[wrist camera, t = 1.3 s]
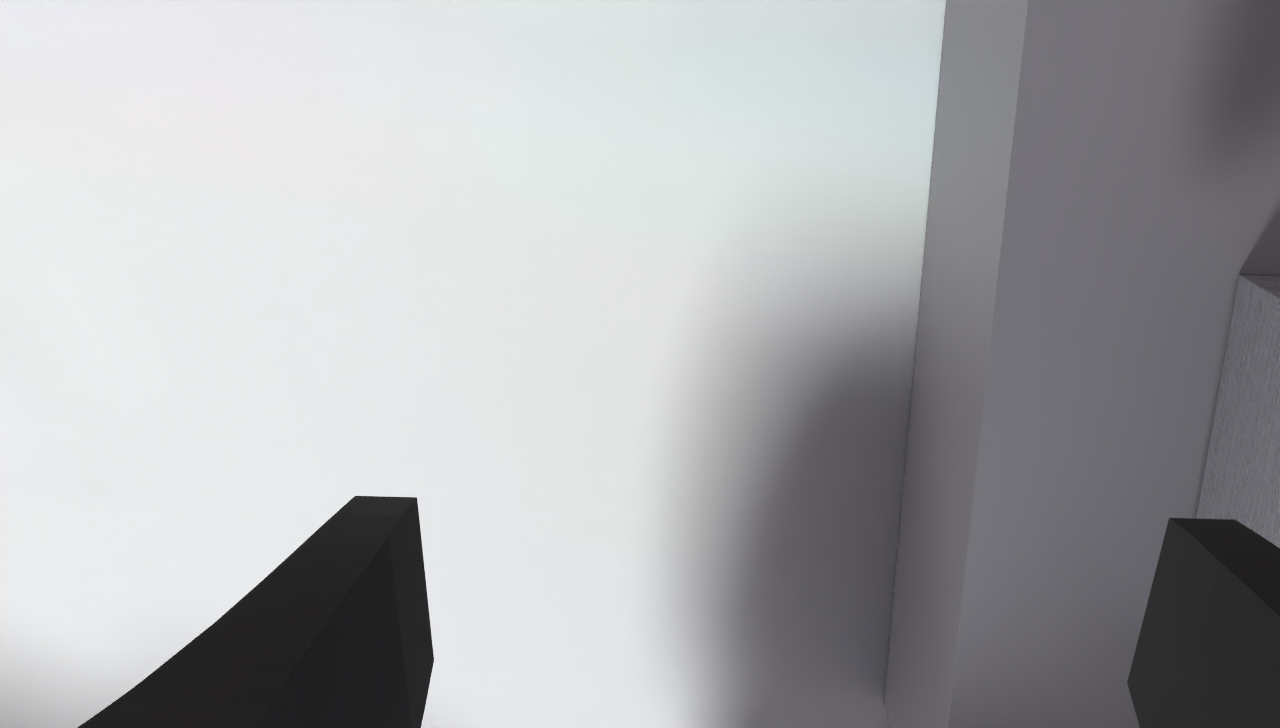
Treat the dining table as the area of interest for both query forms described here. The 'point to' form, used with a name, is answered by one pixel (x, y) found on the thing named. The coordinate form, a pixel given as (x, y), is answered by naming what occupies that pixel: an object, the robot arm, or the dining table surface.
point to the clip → (1248, 416)
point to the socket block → (1071, 339)
